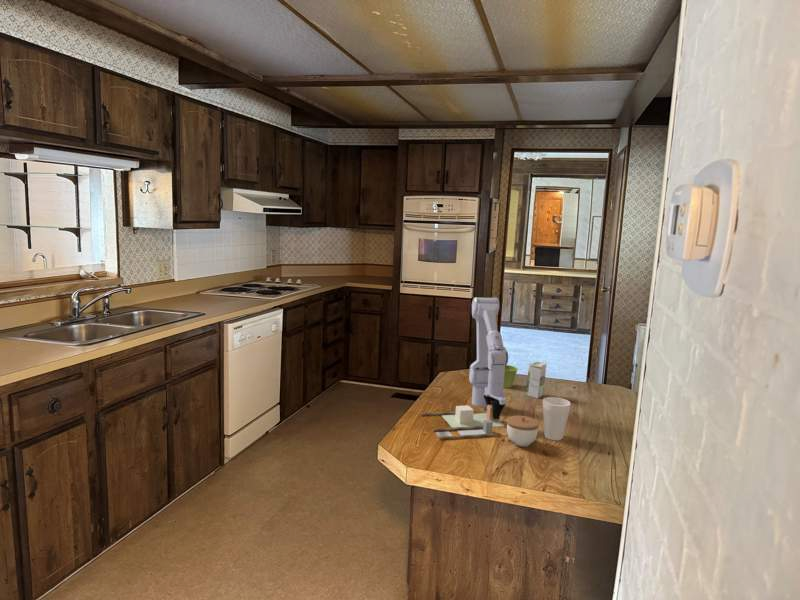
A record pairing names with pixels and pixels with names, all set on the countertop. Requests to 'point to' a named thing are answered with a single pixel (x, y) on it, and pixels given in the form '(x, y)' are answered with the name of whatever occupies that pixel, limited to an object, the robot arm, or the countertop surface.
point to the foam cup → (555, 417)
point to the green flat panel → (474, 419)
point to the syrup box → (536, 379)
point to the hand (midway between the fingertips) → (493, 416)
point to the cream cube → (464, 414)
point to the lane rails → (448, 435)
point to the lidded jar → (522, 430)
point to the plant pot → (509, 376)
